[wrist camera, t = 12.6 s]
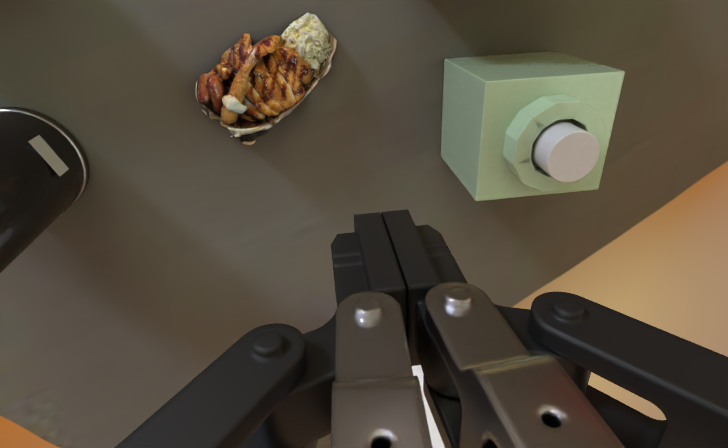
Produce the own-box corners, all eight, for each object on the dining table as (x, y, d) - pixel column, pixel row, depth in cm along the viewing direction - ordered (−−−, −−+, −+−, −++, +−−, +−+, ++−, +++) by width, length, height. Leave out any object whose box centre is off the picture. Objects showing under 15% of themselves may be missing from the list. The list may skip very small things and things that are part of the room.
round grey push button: (529, 173, 32) (543, 185, 30) (536, 123, 30) (552, 133, 28) (577, 168, 32) (594, 180, 30) (586, 119, 31) (605, 128, 29)
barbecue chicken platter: (349, 56, 38) (354, 63, 35) (250, 148, 40) (245, 162, 37) (290, -16, 35) (289, -16, 32) (186, 89, 37) (176, 99, 34)
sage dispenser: (440, 156, 43) (485, 213, 33) (444, 58, 39) (497, 87, 28) (539, 147, 44) (614, 200, 34) (554, 50, 40) (645, 76, 29)
